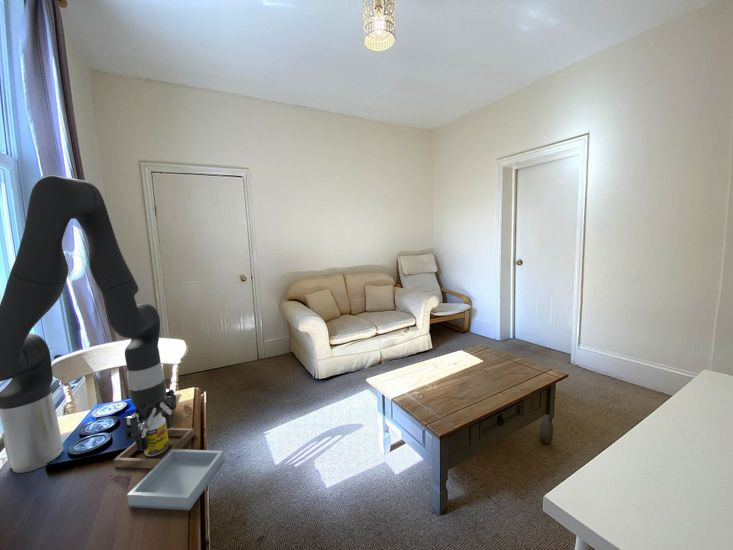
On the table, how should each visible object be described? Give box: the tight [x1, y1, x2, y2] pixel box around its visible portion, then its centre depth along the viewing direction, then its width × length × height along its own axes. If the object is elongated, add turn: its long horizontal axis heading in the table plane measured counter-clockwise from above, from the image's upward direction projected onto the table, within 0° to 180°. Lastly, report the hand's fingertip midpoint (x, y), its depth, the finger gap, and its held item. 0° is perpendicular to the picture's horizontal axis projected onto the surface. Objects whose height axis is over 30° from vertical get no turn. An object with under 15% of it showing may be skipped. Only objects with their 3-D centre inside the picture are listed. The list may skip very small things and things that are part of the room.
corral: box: [113, 427, 195, 470], centre depth 83 cm, size 13×13×2 cm
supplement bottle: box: [140, 412, 170, 457], centre depth 82 cm, size 6×6×10 cm
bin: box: [126, 448, 225, 511], centre depth 72 cm, size 14×14×3 cm
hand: (156, 438), depth 82 cm, fingers open, 8 cm apart
